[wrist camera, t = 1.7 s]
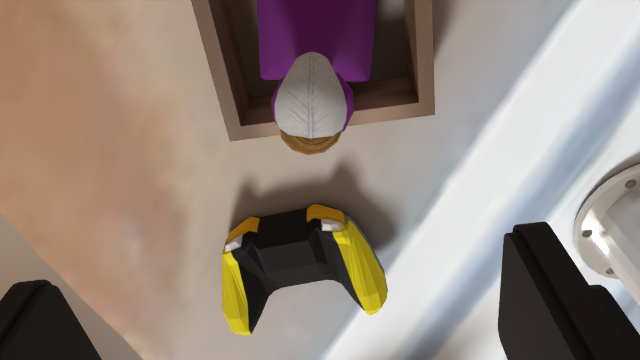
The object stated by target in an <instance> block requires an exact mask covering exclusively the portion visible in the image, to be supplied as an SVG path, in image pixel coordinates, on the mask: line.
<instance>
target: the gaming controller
mask: <svg viewBox="0 0 640 360" xmlns="http://www.w3.org/2000/svg"><path fill="white" fill-rule="evenodd" d="M321 280H335V281H337V282H339V283H341V284H342V285H343V286H344V287H345V289H346V290H347V291H348V293H349V294H350V295H351V297H352V298H353V299H354V300H355V301H356V302H357V303H358V304H359V305H360V307H361V308H362V309H363V310H364V311H365V312H366V313H367V314H368V315H372V314H375V313H376V312H378V311H379V310H380V308H381V307H382V306H383V304H384V302H385V300H386V299H387V291H388V289H387V284H386V279H385V273H384V269H383V267H382V265H381V264H380V262H379V260H378V258H377V256H376V254H375V252H374V250H373V248H372V246H371V244H370V242H369V241H368V239H367V237H366V236H365V235H364V233H363V232H362V231H361V229H360V228H359V227H358V225H357V224H356V223H355V221H354V220H353V219H352V218H351V217H349V216H348V215H345V214H344V213H343V212H342V211H339V210H336V209H332V208H329V207H326V206H322V205H317V204H313V205H311V206H310V207H309V208H308V209H302V210H297V211H292V212H287V213H282V214H277V215H272V216H267V217H262V218H260V219H259V218H255V217H250V218H248V219H246V220H245V221H243V222H242V223H241V224H240V225H239V226H237V227H236V228H235V229H234V230H232V231H231V232H230V233H229V237H228V239H227V240H226V243H225V246H224V249H223V253H222V310H223V312H224V315H225V317H226V319H227V321H228V324H229V326H230V327H231V329H232V331H233V332H234V333H238V334H242V335H251V334H252V332H253V330H254V328H255V326H256V324H257V322H258V320H259V318H260V316H261V314H262V311H263V309H264V306H265V304H266V302H267V299H268V297H269V296H270V295H271V294H272V293H273V292H274V291H275V290H278V289H280V288H282V287H288V286H293V285H299V284H304V283H310V282H316V281H321Z"/></svg>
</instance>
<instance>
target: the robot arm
mask: <svg viewBox="0 0 640 360" xmlns="http://www.w3.org/2000/svg"><path fill="white" fill-rule="evenodd" d="M573 242H574V245H575V248H576V251H577V252H578V254H579V256H580V257H581V259H582V260H583V261H584V263H585V264H586V265H587V266H588V267H589V268H590V269H592V270H593V271H595V272H596V273H598V274H600V275H603V276H605V277H609V278H614V279H619V280H620V281H621V282H622V283H623V285H624V286H625V287H626V289H627V290H628V291H629V293H630V294H631V295H632V297H633V298H634V299H635V301H636V302H637V304H638V305H639V306H640V164H638V165H635V166H633V167H630V168H628V169H626V170H624V171H622V172H620V173H618V174H617V175H615V176H613V177H612V178H610V179H609V180H607V181H606V182H605V183H604V184H602V185H601V186H600V187H598V188H597V189H596V190H595V192H594V193H593V194H592V195H591V196H590V197H589V198H588V199H587V200H586V202H585V203H584V205H583V206H582V208H581V209H580V211H579V213H578V215H577V218H576V220H575V224H574V228H573ZM498 332H499V337H500V341H501V343H502V346H503V349H504V351H505V354H506V356H507V359H508V360H640V335H639V333H638V332H637V331H636V329H635V328H634V326H633V325H632V323H631V322H630V321H629V319H628V318H627V316H626V315H625V313H624V312H623V311H622V309H621V308H620V306H619V305H618V303H617V302H616V301H615V299H614V298H613V296H612V295H611V294H610V293H609V291H608V290H607V289H606V288H605V287H603V286H601V285H588V283H587V282H586V280H585V278H584V277H583V275H582V274H581V272H580V271H579V269H578V268H577V266H576V265H575V263H574V262H573V260H572V259H571V257H570V256H569V254H568V253H567V251H566V250H565V248H564V247H563V245H562V244H561V242H560V241H559V239H558V238H557V236H556V235H555V233H554V232H553V230H552V229H551V227H550V226H549V225H548V223H546V222H536V223H528V224H519V225H515V226H514V228H513V232H512V233H506V234H505V236H504V244H503V258H502V273H501V287H500V302H499V317H498ZM0 360H102V359H101V358H100V356H99V354H98V353H97V351H96V349H95V348H94V346H93V344H92V343H91V341H90V339H89V338H88V336H87V334H86V333H85V331H84V329H83V328H82V326H81V324H80V323H79V321H78V319H77V318H76V316H75V315H74V313H73V311H72V309H71V308H70V306H69V304H68V303H67V301H66V299H65V298H64V296H63V294H62V293H61V291H60V289H59V288H58V287H57V286H55V285H52V284H51V283H50V282H49V281H47V280H35V281H26V282H18V283H16V284H14V285H13V286H12V287H11V288H10V289H9V290H8V292H7V293H6V294H5V296H4V297H3V298H2V300H1V301H0Z"/></svg>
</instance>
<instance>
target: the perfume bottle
mask: <svg viewBox="0 0 640 360" xmlns="http://www.w3.org/2000/svg"><path fill="white" fill-rule="evenodd" d="M376 8H377V0H257V13H258V38H259V63H260V76H261V78H262V79H264V80H279V82H278V84H277V87H276V89H275V92H274V94H273V96H272V99H271V105H272V110H273V116H274V121H275V123H276V124H277V125H278V126H279V128H280V133H281V138H282V139H283V140H284V141H285V143H286V144H287V145H288V146H289V147H290V148H291V149H292V150H294V151H297V152H300V153H303V154H306V155H311V154H317V153H323V152H325V151H326V150H328V149H329V148H330V147H331V146H333V145H334V144H335V143H336V142H337V141H338V139H339V137H340V135H341V133H342V132H343V131H344V130H345V128H346V126H347V124H348V122H349V120H350V118H351V116H352V114H353V112H354V102H353V91H352V89H351V88H350V86H349V85H348V84H347V83H346V82H365V83H366V82H369V81H370V79H371V67H372V55H373V43H374V32H375V20H376Z"/></svg>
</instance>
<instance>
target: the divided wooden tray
mask: <svg viewBox="0 0 640 360" xmlns="http://www.w3.org/2000/svg"><path fill="white" fill-rule="evenodd" d="M191 2H192V6H193V9H194V13H195V17H196V20H197V24H198V28H199V31H200V35H201V38H202V42H203V46H204V49H205V53H206V56H207V60H208V64H209V67H210V71H211V75H212V78H213V82H214V85H215V89H216V93H217V96H218V100H219V103H220V107H221V111H222V114H223V118H224V122H225V125H226V129H227V132H228V136H229V140H230V141H237V140H245V139H252V138H260V137H268V136H275V135H281V133H280V128H279V126H278V125H277V124H276V123H275V121H274V116H273V110H272V105H271V99H272V96H273V95H271V96H264V97H256V98H250V94H249V90H248V86H247V81H246V77H245V73H244V69H243V65H242V60H241V56H240V52H239V48H238V44H237V40H236V35H235V31H234V27H233V23H232V19H231V14H230V10H229V6H228V2H227V0H191ZM404 12H405V30H406V48H407V66H408V77H401V78H394V79H387V80H380V81H372V82H366V83H358V84H351V85H349V86H350V88H351V89H352V91H353V102H354V112H353V114H352V116H351V118H350V120H349V122H348V124H347V126H352V125H359V124H367V123H375V122H382V121H390V120H398V119H405V118H413V117H421V116H428V115H435V98H434V60H433V21H432V0H404Z"/></svg>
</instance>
